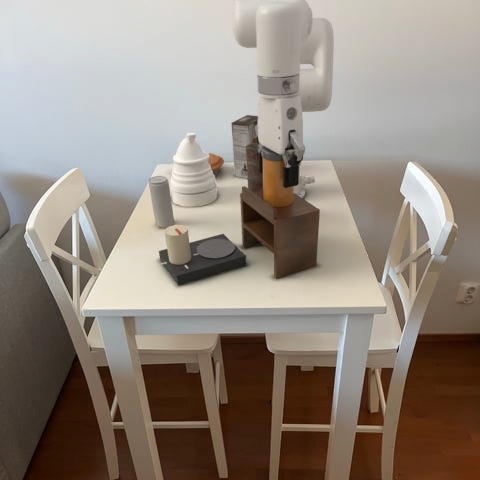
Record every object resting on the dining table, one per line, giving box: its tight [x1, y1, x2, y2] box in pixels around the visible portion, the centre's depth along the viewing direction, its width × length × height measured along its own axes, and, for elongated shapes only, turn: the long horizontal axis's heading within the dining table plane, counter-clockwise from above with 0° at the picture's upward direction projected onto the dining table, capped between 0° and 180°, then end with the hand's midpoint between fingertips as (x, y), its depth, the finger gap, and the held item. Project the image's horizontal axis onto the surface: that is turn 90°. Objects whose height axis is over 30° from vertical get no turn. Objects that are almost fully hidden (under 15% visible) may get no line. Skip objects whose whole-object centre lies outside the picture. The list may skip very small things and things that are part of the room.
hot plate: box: [158, 233, 247, 287], centre depth 103 cm, size 18×12×3 cm
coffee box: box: [231, 114, 258, 179], centre depth 141 cm, size 9×6×16 cm
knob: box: [164, 224, 191, 265], centre depth 99 cm, size 5×5×7 cm
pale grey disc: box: [197, 239, 236, 259], centre depth 104 cm, size 9×9×1 cm
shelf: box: [239, 185, 321, 280], centre depth 101 cm, size 10×16×15 cm, turn 26°
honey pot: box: [169, 131, 218, 208], centre depth 128 cm, size 13×13×18 cm
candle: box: [246, 143, 263, 190], centre depth 112 cm, size 8×7×20 cm
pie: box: [208, 152, 225, 177], centre depth 146 cm, size 16×16×5 cm
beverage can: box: [148, 175, 175, 229], centre depth 117 cm, size 5×5×12 cm
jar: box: [261, 146, 294, 207], centre depth 94 cm, size 7×7×11 cm
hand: (278, 178), depth 94 cm, fingers open, 9 cm apart
